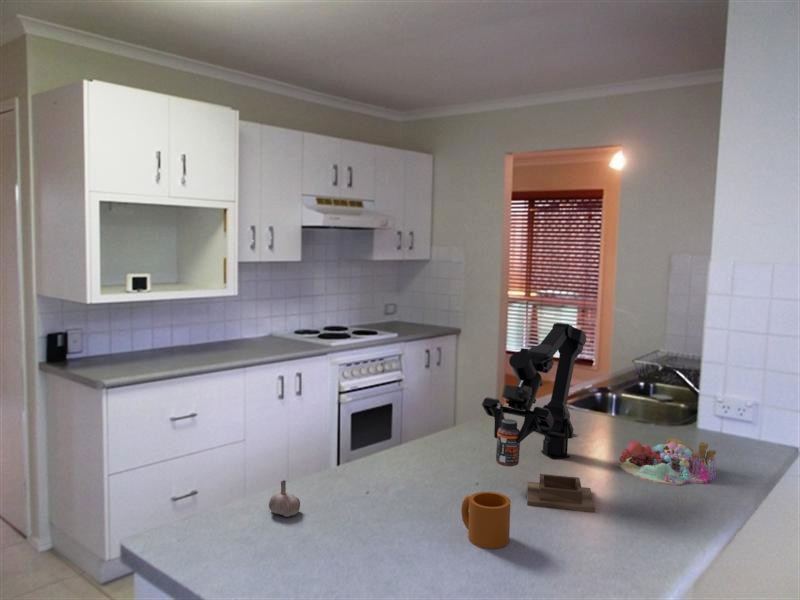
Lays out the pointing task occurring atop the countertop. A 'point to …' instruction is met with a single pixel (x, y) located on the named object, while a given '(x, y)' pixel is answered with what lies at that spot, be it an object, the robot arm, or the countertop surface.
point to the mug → (487, 519)
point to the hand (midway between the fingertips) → (506, 440)
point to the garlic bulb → (284, 502)
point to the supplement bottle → (507, 443)
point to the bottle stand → (560, 493)
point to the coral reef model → (669, 462)
